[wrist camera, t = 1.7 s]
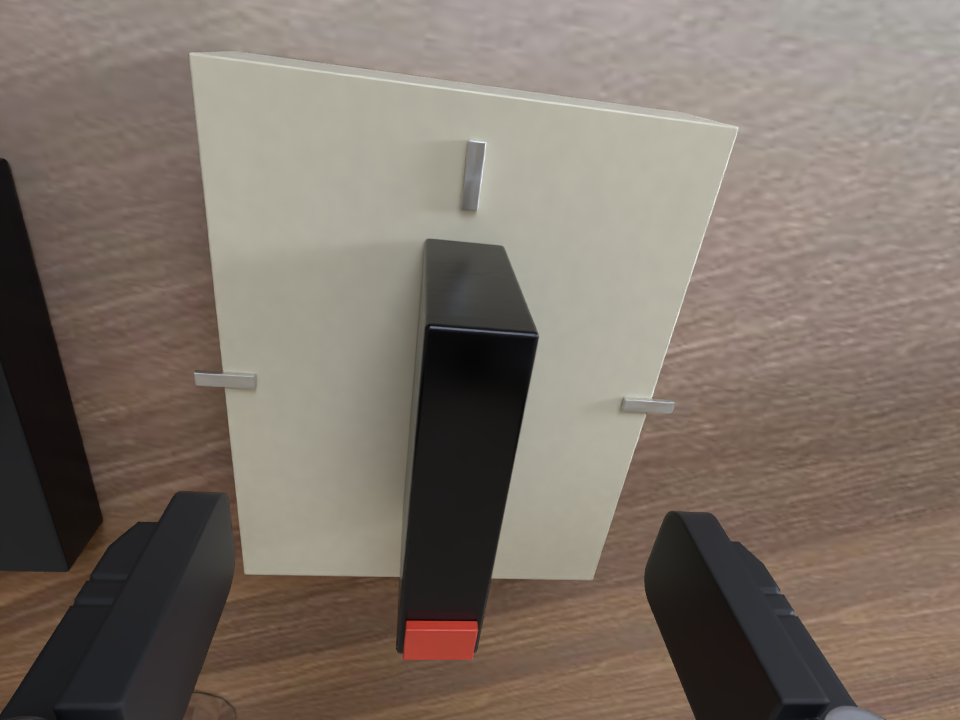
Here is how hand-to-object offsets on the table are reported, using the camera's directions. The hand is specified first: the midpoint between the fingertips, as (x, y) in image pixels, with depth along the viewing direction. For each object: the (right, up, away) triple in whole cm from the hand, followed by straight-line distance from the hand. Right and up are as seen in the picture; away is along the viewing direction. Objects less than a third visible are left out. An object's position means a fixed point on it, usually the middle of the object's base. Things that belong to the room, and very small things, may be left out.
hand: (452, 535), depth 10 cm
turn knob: (0, +2, +4) cm, 5 cm away
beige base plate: (-1, +4, +7) cm, 8 cm away
